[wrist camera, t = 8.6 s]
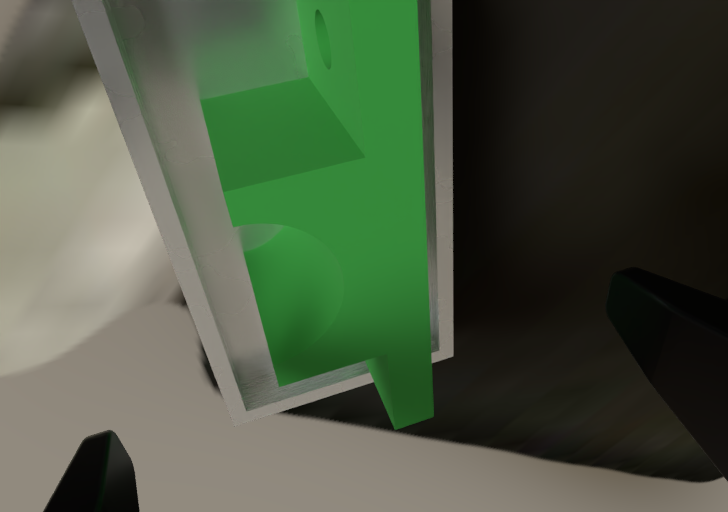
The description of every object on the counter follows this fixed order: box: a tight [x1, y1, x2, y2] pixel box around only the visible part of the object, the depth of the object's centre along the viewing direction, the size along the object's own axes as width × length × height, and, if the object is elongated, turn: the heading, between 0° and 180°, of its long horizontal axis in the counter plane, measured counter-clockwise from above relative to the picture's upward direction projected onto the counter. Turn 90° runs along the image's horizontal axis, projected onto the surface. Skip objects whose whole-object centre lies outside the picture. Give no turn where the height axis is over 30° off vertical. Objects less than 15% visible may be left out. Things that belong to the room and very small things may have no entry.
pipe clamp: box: [200, 0, 434, 430], centre depth 14 cm, size 11×4×5 cm, turn 6°
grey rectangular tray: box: [71, 0, 453, 427], centre depth 15 cm, size 15×8×2 cm, turn 6°
